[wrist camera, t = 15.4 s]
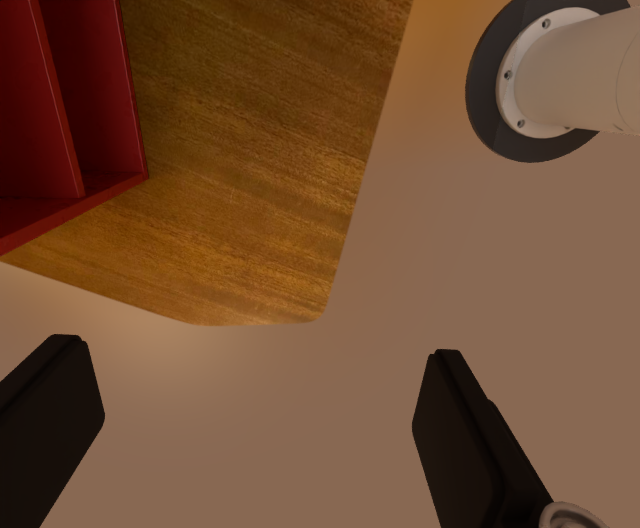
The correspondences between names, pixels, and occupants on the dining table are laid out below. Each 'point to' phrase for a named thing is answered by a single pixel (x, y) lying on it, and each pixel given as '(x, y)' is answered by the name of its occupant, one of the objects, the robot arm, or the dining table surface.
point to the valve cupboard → (63, 114)
